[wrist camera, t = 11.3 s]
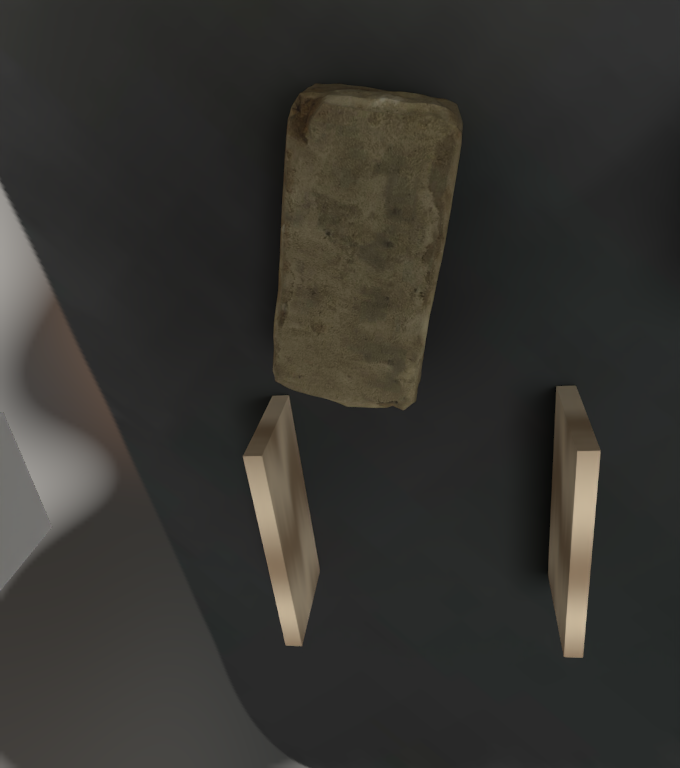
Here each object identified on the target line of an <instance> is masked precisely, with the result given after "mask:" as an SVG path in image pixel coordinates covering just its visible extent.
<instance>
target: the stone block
mask: <svg viewBox="0 0 680 768" xmlns="http://www.w3.org/2000/svg"><path fill="white" fill-rule="evenodd" d="M462 129H463V122H462V119H461V116H460V112H459V109H458V106H457V104H456V103H453V102H451V101H449V100H447V99H438V98H433V97H429V96H426V95H423V94H416V93H409V92H391V91H385V90H380V89H375V88H370V87H363V86H351V85H345V84H314V85H313V86H311V87H308V88H307V89H306V90H305V91H303V92H302V93H300V94H299V95H298V97H297V99H296V100H295V102H294V103H293V105H292V107H291V110H290V114H289V117H288V123H287V134H286V146H285V161H284V182H283V196H282V218H281V241H280V264H279V286H278V296H277V303H276V311H275V319H274V332H273V340H274V358H273V373H274V376H275V381H276V382H278V383H280V384H282V385H283V386H285V387H287V388H290V389H292V390H294V391H298V392H302V393H305V394H309V395H312V396H317V397H322V398H325V399H329V400H332V401H334V402H337V403H340V404H342V405H345V406H347V407H369V408H387V407H390V406H395V407H397V408H399V409H401V410H405V409H406V408H407V407H408V406H410V405H411V404H412V403H414V402H416V397H417V388H418V384H419V383H420V380H421V369H422V362H423V356H424V349H425V341H426V335H427V329H428V323H429V317H430V312H431V308H432V303H433V299H434V294H435V289H436V284H437V279H438V274H439V269H440V265H441V261H442V257H443V251H444V246H445V240H446V234H447V228H448V223H449V217H450V211H451V205H452V198H453V192H454V187H455V181H456V175H457V169H458V163H459V156H460V150H461V141H462Z"/></svg>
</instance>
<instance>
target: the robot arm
mask: <svg viewBox="0 0 680 768" xmlns="http://www.w3.org/2000/svg"><path fill="white" fill-rule="evenodd" d="M51 528H52V526H51V523H50V521H49V518H48V516H47V514H46V511H45V509H44V507H43V504H42V502H41V500H40V497H39V495H38V492H37V490H36V488H35V485H34V483H33V481H32V479H31V476H30V474H29V471H28V469H27V467H26V464H25V462H24V460H23V457H22V455H21V453H20V450H19V448H18V445H17V443H16V441H15V439H14V436H13V434H12V431H11V429H10V427H9V424H8V422H7V420H6V417H5V415H4V413H0V591H1V590H2V588H3V587H4V586H5V585H6V583H7V582H8V581H9V580H10V578H11V577H12V576H13V575H14V574H15V572H16V571H17V570H18V568H19V567H20V566H21V565H22V564H23V562H24V561H25V560H26V559H27V557H28V556H29V555H30V554H31V553H32V551H33V550H34V549H35V548H36V546H37V545H38V544H39V543H40V541H41V540H42V539H43V538H44V536H45V535H46V534H47V533H48V532H49V530H50V529H51Z"/></svg>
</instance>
